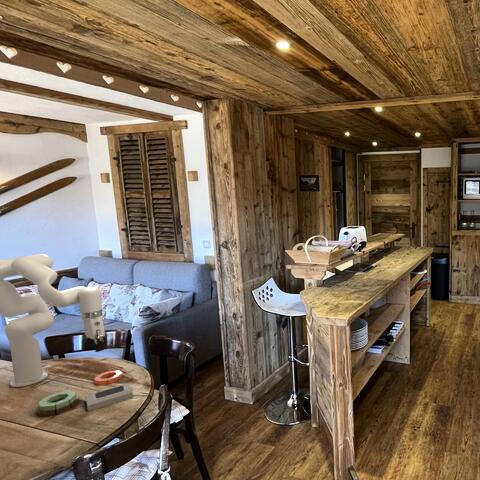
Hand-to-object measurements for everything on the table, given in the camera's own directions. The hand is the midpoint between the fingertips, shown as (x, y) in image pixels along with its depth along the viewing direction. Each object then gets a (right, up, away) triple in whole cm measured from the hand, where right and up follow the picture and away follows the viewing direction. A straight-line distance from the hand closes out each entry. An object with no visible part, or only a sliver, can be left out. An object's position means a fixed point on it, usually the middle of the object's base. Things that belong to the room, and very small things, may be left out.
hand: (95, 348), depth 168 cm
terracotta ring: (+2, -17, +5) cm, 18 cm away
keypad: (+16, -20, -12) cm, 28 cm away
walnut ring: (0, -20, -18) cm, 26 cm away
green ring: (0, -18, -18) cm, 25 cm away
